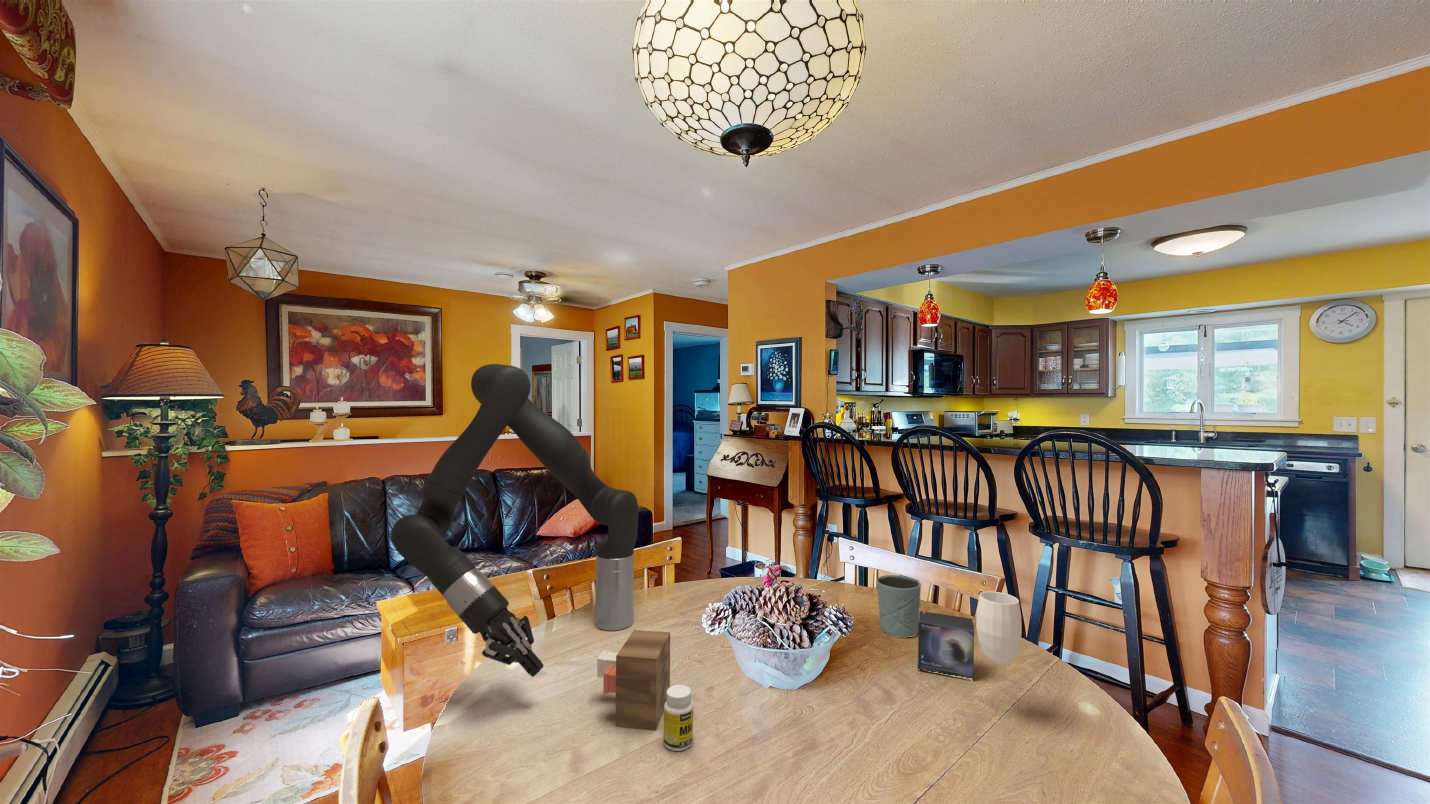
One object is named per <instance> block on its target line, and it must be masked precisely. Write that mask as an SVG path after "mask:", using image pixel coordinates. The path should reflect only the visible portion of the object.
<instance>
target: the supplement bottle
mask: <svg viewBox="0 0 1430 804" xmlns="http://www.w3.org/2000/svg"><path fill="white" fill-rule="evenodd" d="M666 700H667V701H666V702H665V705H664V712H663V745H664V747H666V748H667V749H668V750H669V751H673V752H682V751H685V750H687V749H689V748H690V747H691V746H692V744H693V740H694V735H693V734H694V703H693V701H692V689H691V688H690V687H689V686H687V685H684V684H675V685H670V688H668V690H667V696H666Z"/></svg>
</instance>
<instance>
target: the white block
mask: <svg viewBox="0 0 1430 804" xmlns="http://www.w3.org/2000/svg"><path fill="white" fill-rule="evenodd" d="M617 654H618V652H613V651H612V652H611V651H609V650H606V649H605V650H603V651H602V652H601V653H600V654H599V656H598V657H597V658H596V678H599V679H602V678H603V674H604V673H605V671H606V670H607V668H608V667H609V665H610V664H612V665H614V666H615V667H616V655H617Z"/></svg>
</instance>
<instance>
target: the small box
mask: <svg viewBox="0 0 1430 804" xmlns="http://www.w3.org/2000/svg"><path fill="white" fill-rule="evenodd" d="M918 618H919V621H918V634H917V636H918V637H917V639H918V640H917V641H918V642H917V643H918V644H917V670H918V669H920V670H926V671H931V672H938V673H943V674H948V675H955V676H961V677H966V678H973V679H974V663H975V661H974V658H975V656H974V655H975V653H974V652H975V625H974V621H973V618H969V617H962V616H956V615H949V614H944V613H943V614H942V613H937V612H935V613H934V612H931V611H930V612H929V611H925V610H924V611H923V610H919V617H918Z"/></svg>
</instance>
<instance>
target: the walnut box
mask: <svg viewBox="0 0 1430 804" xmlns="http://www.w3.org/2000/svg"><path fill="white" fill-rule="evenodd" d="M617 653H618V654H617V655H616V693H615V727H620V728H630V729H637V730H638V729H639V730H640V729H641V730H648V731H649V730H650V731H656V730H658V729H657V728H658V726H659V723H660V721H661V718H662V716H663V715H664V705H665V702H666V701H667V700H666V696H667V690H668V688H670V687H671V683H670V682H671V632H668V631H666V632H665V631H653V630H639V629H634V630H633V631H632V632H631V633H630V635H629V637H628V639H627V640H626V641H625V642H624V644H623V645H622V647H621V648H620V649H619V651H618V652H617Z"/></svg>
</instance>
